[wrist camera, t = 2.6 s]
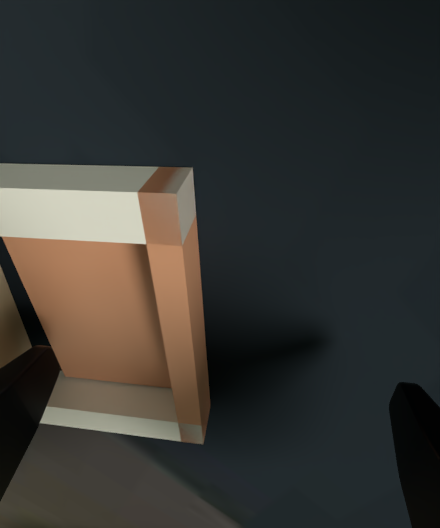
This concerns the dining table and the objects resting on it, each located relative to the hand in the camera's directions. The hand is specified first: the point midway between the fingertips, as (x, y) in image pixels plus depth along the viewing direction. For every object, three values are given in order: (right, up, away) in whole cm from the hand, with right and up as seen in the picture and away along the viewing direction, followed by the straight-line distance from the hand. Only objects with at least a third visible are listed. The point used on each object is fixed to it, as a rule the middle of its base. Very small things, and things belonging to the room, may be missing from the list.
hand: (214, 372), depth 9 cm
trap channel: (-9, +2, +3) cm, 9 cm away
